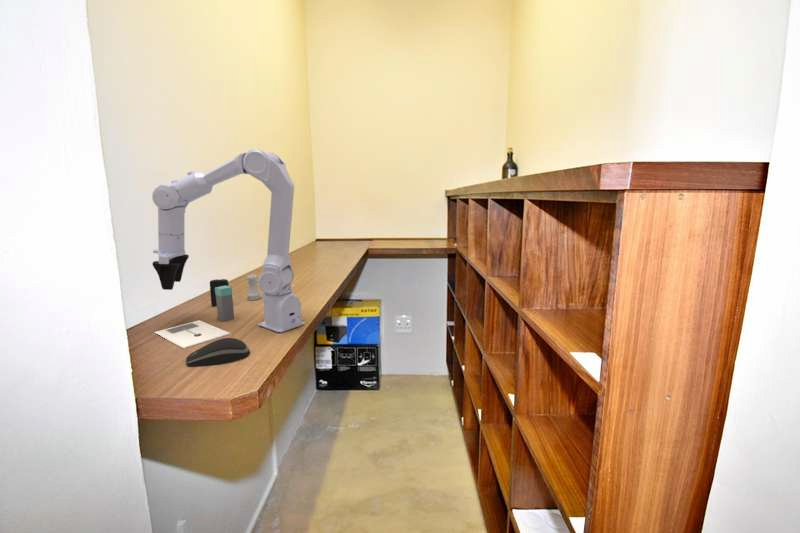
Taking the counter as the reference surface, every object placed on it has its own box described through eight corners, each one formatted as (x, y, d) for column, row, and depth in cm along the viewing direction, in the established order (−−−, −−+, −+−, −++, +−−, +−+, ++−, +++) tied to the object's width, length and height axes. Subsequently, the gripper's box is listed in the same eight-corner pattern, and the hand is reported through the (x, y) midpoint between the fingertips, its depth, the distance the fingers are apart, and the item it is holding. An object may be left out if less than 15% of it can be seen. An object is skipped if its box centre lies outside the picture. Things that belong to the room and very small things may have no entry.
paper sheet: (230, 334, 94) (230, 332, 94) (183, 348, 85) (183, 347, 85) (199, 321, 103) (198, 319, 103) (154, 333, 95) (153, 331, 95)
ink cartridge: (230, 303, 120) (228, 278, 118) (229, 305, 118) (227, 280, 116) (212, 304, 119) (210, 279, 117) (211, 306, 116) (209, 281, 115)
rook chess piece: (256, 301, 122) (254, 276, 121) (243, 300, 123) (241, 276, 122) (263, 297, 126) (262, 273, 125) (251, 296, 127) (249, 273, 126)
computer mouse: (187, 358, 81) (185, 340, 80) (249, 348, 86) (247, 331, 85) (184, 372, 75) (182, 353, 74) (251, 360, 80) (249, 342, 79)
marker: (234, 318, 105) (231, 287, 104) (223, 321, 103) (220, 289, 101) (228, 316, 107) (225, 285, 106) (217, 319, 105) (214, 287, 103)
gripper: (162, 228, 102) (162, 277, 105) (143, 236, 89) (144, 292, 91) (191, 230, 104) (191, 278, 107) (177, 238, 91) (177, 293, 93)
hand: (171, 285), depth 99 cm, fingers open, 7 cm apart
